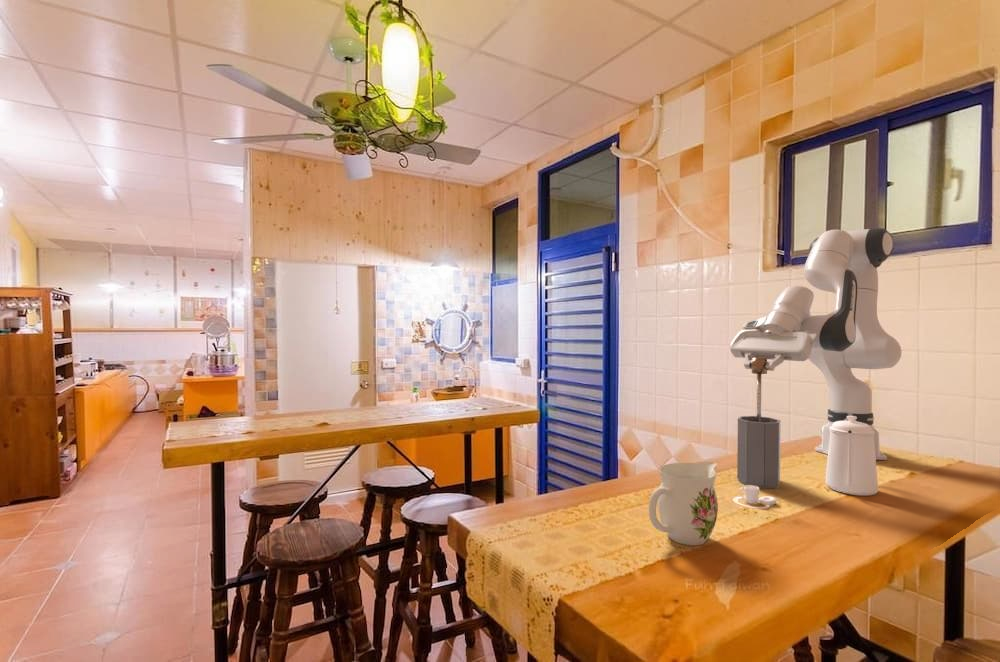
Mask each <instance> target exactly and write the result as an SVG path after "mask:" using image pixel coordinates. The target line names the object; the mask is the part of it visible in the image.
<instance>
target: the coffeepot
mask: <svg viewBox="0 0 1000 662" xmlns="http://www.w3.org/2000/svg"><path fill="white" fill-rule="evenodd" d="M847 418H848V419H849V421H836V422H834V423H833V424H832V426H831V427H830V429H829V430H830V439H829V449H828V454H827V460H826V469H825V479H824V480H825V484H826V486H827V487H828V488H829V489H831V490H834V491H836V492H838V493H841V492H842V493H841V494H847V495H852V496H859V497H860V496H861V497H862V496H863V497H867V496H869V497H870V496H873V495H876V494H877V493H878V491H879V485H878V484H879V482H878V471H877V460H876V457H875V445H874V435H875V432H874V431H873V430H872V428H871V426H869V425H868V424H865V423H862V422H856V421H855V419H857V417H856V416H847Z"/></svg>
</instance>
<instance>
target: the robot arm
mask: <svg viewBox="0 0 1000 662" xmlns="http://www.w3.org/2000/svg"><path fill="white" fill-rule="evenodd" d="M893 247H894V245H893V239H892V235H891V233H890V232H889V231H888V230H887V229H886V228H881V227H872V228H866V229H865V228H864V229H853V230H852V229H850V230H847V231H846V230H841V229H830V230H826V231H825V232H823V233H821V234H820V236H819V237H815V239H813V241H812V242H811V243H810V245H809V247H808V248H809V249H808V256H807V258H806V261H805V263H804V267H803V274H804V275H803V276H804V277H805V280H806V281H807V282H808V283H809V285H811V286H813V288H815V289H818V290H820V291H823V292H824V291H825V292H829V293H833V294H835V298H834V309H833V311H832V312H831V313H828V314H820V315H811V308H812V305H813V302H814V297H815V295H814V292H813V291H812V290H811V289H810V288H808V287H807V286H803V285H791V286H788V287H785V288H784V289H783V290H782V291H781V292H780V293H779V295H777V297H776V299H775V300H774V302H773V303H772V306H771V311H770V312H769V313H768V314H767V315H766V316H765V317H761V318H759V319H755V320H751V321H746V322H745V323H743V325H742V330H740V331H739V332H738V333H736V335H735V337H734V338H733V340H732V341H731V343H730V344H729V350H730V352H731V354H732V355H733V357H734V358H742V359H745V362H744V364H743V367H744V368H745V369H747V370H752V358H767V360H771V361H767V364H766V366H765V367H766V369H767V371H771V372H774V371H775V369H776V367H778V366H779V365H782V363H784V361H788V362H789V361H792V362H793V361H794V362H805V361H806V360H809V362H810V363H811V364H813V365H815V366H816V367H817V368H818V369H819V370H820V371H821V373H822V375H823V377H824V378H825V380H826V383H827V386H828V396H829V397H828V398H829V400H828V401H829V409H827V415H826V416H827V423H825V424H824V425H822V427H821V443H820V444H818V445H817V446H815V447H814V451H815V452H819V453H823V454H825V455H828V449H829V439H830V430H829V429H830V427H831V426H832V424H833V423H834V422H836V421H849V419H848V418H847V416H856V417H857V419H855V421H856V422H862V423H865V424H868V425H869V426H871V428H872V430H873V431H874V432H875V435H874V445H875V457H876V461H878V460H886V461H887V460H888V456H887V455H886V454H885V453H883V452H882V451H881V450H880V432H879V431H878V430H877V429H876V428H875V427H874V420H875V418H874V413H873V412H872V405H873V404H872V403H873V401H872V399H873V396H872V395H873V394H872V393H873V391H872V389H871V387H870V386H869V385H868V383H866V382H864V381H862V380H861V379H858V378H857V377H856V376H855V375H854V374H853V372H852V369H860V370H861V369H862V370H883V369H890V368H894V366H896V365H897V364H898V363H899V361H900V359H901V358H902V347H901V345H900V343H899V341H898V340H897V339H896V338H894V337H893V336H891V335H890V334H889V333H888V332H887V331H885V329H884V328H883V327H882V325H881V323H880V321H879V318H878V294H879V275H878V268H879V267H881V265H882V264H883V263H884V262H885V261H887V259H888V258H889V257H890V255H891V254H892V251H893Z"/></svg>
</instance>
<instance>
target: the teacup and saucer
mask: <svg viewBox="0 0 1000 662" xmlns="http://www.w3.org/2000/svg"><path fill="white" fill-rule="evenodd" d="M741 490H744V495H742V493H741ZM738 493H739V495H740V496H735V497H733V499H732V500H733V502H734V503H735V504H737V505H740V506H741V507H744V508H750V509H756V510H757V509H758V510H759V509H761V510H762V509H764V510H765V509H768V508H771V507H772V506H773V505H776V504H777V499H776V498H775V497H773V496H767V495H765V496H761V497H759V496H760V488H759V487H757V486H753V485H744V487H740V488H739V489H738ZM740 499H743V501H745V502H746V503H747V504H749V505H747V504H743V503H741V502H739V500H740ZM758 502H759V504H760V505H763V506H751V505H757V504H758ZM766 505H769V506H766ZM764 506H765V507H764ZM770 506H771V507H770Z"/></svg>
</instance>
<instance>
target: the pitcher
mask: <svg viewBox="0 0 1000 662" xmlns="http://www.w3.org/2000/svg"><path fill="white" fill-rule="evenodd" d="M717 466H718V463H716V462H712V461H699V462H697V461H696V462H673V463H668V464H664V465H661V466H660V467H659V473H660V478H661V483H660V484H659V487H657V488H656V489H654V490H653V491H652V493H651V494H650V497H649V503H648V516H649V520H650V522H651V525H652V526H653V527H654V528H655V529H656V530H658V531H659V532H662V533H666V534H667V535H668V537H669V538H670V539H671V540H672V541H674V542H676V543H678V544H681V545H685V546H700V545H703V544H705V543H706V541H708V539H709V538H710V536H711V535H712V533H713V531H714V528H715V526H716V522H717V519H718V509H719V508H718V507H719V505H718V503H719V502H718V497H717V496H718V495H717V492H716V490H715V489H716V488H715V486H714V485H715V480H716V477H717V471H716V470H715V469H716V468H717ZM657 510H658V514H659V519H660V521H659V520H658V517H657Z"/></svg>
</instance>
